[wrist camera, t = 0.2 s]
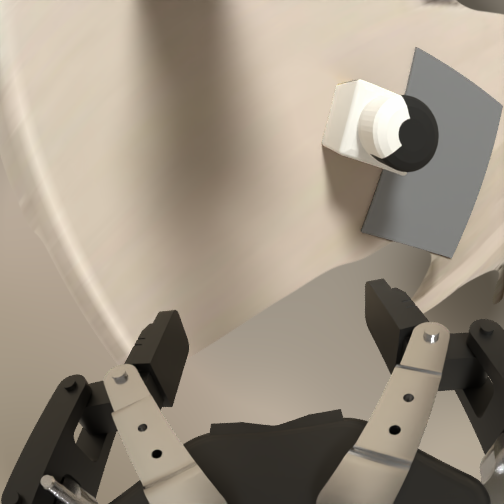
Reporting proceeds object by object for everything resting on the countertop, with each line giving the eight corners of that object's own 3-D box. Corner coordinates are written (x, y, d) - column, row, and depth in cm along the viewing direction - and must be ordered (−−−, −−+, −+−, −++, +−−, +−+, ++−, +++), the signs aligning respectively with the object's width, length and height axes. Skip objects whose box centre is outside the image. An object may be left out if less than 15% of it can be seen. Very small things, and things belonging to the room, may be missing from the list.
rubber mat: (415, 47, 24) (416, 47, 24) (501, 105, 26) (502, 105, 26) (360, 231, 35) (361, 232, 34) (450, 257, 37) (451, 258, 36)
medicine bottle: (393, 105, 28) (457, 110, 17) (378, 162, 31) (434, 192, 20) (335, 83, 27) (382, 72, 16) (320, 144, 30) (358, 165, 20)
